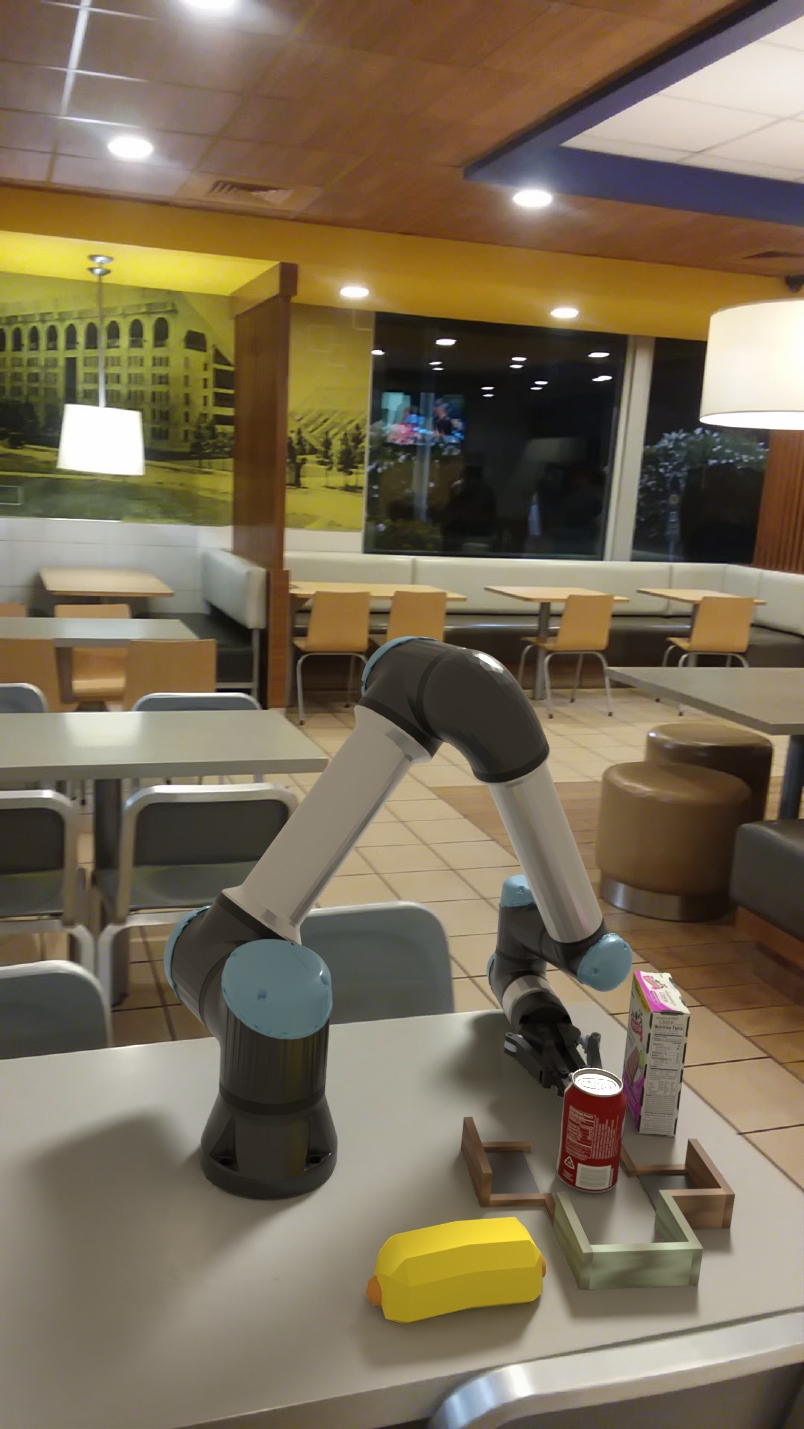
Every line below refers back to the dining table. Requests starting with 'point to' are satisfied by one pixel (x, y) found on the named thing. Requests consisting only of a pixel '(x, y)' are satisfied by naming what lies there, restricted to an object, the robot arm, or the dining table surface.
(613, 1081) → the soda can
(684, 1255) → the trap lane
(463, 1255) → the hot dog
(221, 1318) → the dining table surface
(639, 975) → the candy bar box
